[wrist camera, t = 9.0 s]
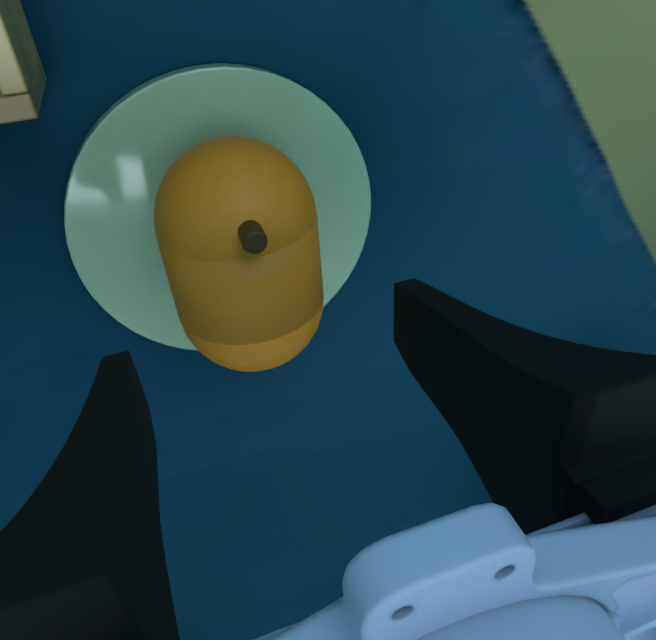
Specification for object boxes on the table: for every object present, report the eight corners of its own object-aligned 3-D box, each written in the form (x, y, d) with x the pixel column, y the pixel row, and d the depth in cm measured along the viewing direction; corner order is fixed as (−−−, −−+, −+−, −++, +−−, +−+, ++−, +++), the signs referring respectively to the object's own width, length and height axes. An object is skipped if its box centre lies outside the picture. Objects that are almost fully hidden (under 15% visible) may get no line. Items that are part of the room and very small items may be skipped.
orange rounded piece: (305, 302, 24) (353, 388, 19) (184, 332, 22) (207, 430, 18) (283, 104, 19) (341, 160, 15) (128, 130, 18) (141, 199, 13)
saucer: (368, 307, 26) (374, 314, 25) (117, 372, 23) (118, 381, 23) (361, 40, 19) (368, 43, 19) (10, 91, 17) (7, 97, 16)
